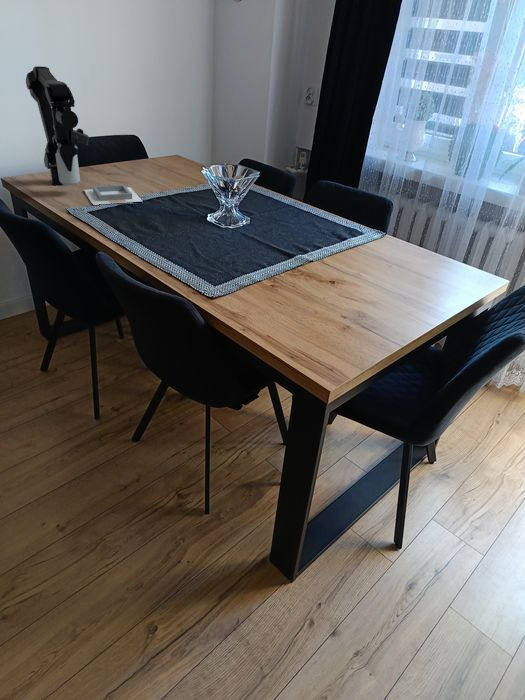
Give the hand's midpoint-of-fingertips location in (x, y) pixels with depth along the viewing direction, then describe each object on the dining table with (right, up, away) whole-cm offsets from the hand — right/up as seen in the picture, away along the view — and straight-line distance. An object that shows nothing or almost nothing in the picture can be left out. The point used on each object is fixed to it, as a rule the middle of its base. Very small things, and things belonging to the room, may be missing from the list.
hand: (68, 168), depth 184 cm
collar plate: (+15, -9, +6) cm, 18 cm away
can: (0, -5, +3) cm, 6 cm away
